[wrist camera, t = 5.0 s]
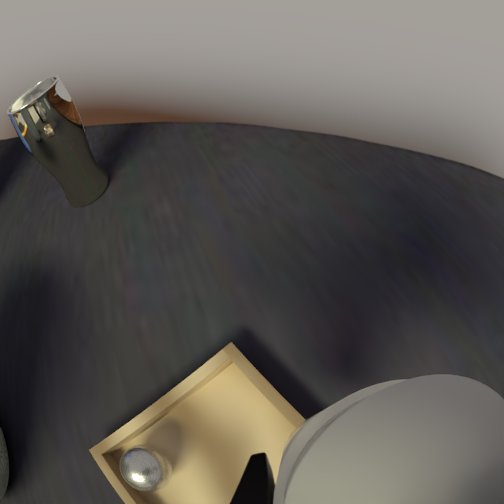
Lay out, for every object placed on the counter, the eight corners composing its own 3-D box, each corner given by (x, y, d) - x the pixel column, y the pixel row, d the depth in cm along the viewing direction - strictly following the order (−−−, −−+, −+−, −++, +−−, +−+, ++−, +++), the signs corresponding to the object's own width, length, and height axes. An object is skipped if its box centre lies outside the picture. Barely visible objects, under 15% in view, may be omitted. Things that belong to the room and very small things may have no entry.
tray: (216, 580, 12) (210, 591, 10) (102, 450, 19) (89, 450, 17) (366, 478, 16) (373, 482, 14) (235, 349, 23) (231, 341, 21)
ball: (153, 495, 16) (131, 504, 13) (125, 458, 18) (100, 459, 15) (189, 473, 17) (171, 479, 14) (158, 435, 19) (137, 434, 16)
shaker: (342, 517, 10) (425, 627, 1) (260, 469, 12) (202, 544, 3) (400, 438, 12) (559, 419, 3) (321, 392, 14) (385, 312, 5)
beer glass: (115, 193, 33) (57, 86, 21) (66, 219, 32) (-2, 125, 19) (109, 161, 37) (62, 67, 24) (65, 185, 36) (11, 99, 23)
